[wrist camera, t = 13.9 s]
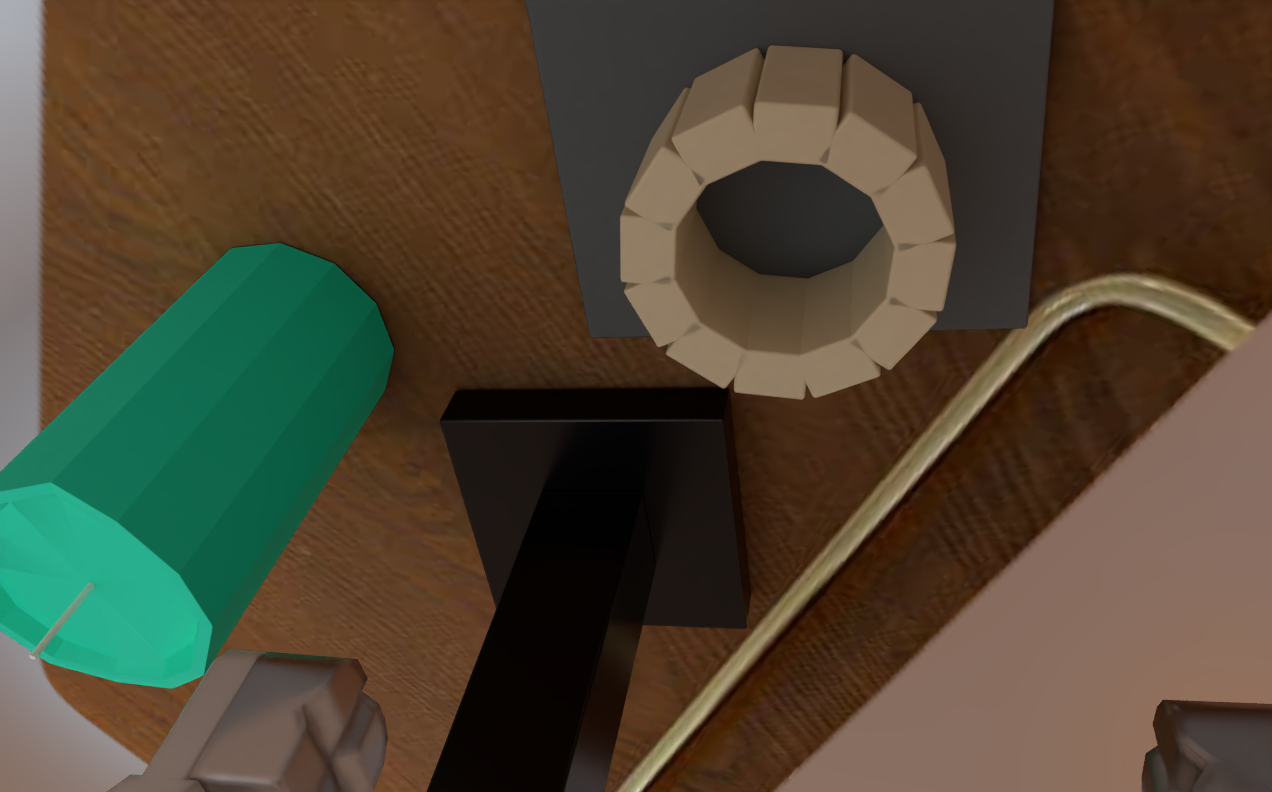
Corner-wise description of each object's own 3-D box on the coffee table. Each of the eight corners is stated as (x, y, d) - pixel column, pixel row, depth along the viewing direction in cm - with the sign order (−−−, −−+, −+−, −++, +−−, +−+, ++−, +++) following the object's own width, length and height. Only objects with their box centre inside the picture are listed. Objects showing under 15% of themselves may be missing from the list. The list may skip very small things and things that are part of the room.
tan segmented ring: (648, 36, 23) (618, 93, 20) (968, 55, 22) (983, 117, 19) (646, 304, 27) (620, 381, 24) (916, 330, 26) (922, 413, 23)
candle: (429, 323, 29) (216, 659, 20) (345, 450, 33) (130, 787, 23) (235, 200, 28) (-90, 494, 19) (169, 345, 32) (-134, 655, 22)
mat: (520, -67, 23) (513, -60, 22) (1060, -127, 20) (1065, -121, 20) (593, 327, 28) (589, 339, 28) (1024, 316, 26) (1027, 329, 26)
